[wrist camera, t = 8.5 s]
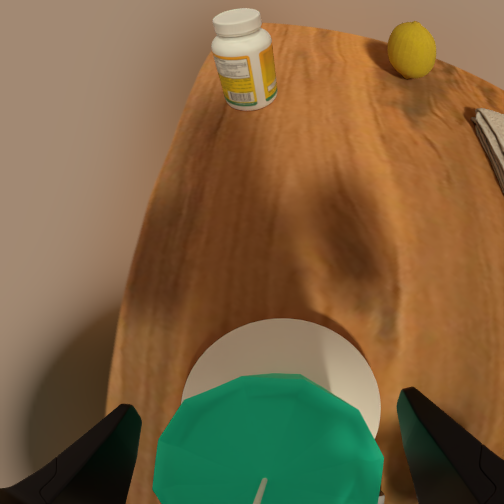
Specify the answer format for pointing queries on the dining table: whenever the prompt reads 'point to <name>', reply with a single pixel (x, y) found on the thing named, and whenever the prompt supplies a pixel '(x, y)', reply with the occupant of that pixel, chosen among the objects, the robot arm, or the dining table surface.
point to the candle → (267, 447)
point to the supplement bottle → (244, 59)
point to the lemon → (411, 50)
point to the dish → (290, 362)
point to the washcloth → (492, 138)
